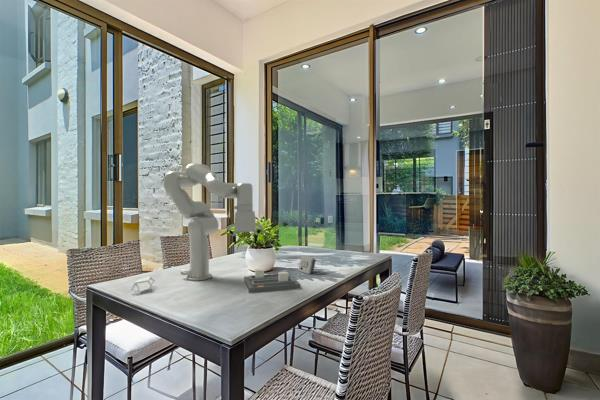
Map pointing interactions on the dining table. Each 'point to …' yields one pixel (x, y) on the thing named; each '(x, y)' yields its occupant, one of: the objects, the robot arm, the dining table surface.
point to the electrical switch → (306, 264)
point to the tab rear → (259, 273)
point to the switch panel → (270, 283)
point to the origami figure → (142, 282)
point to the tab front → (282, 276)
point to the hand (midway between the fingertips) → (245, 243)
